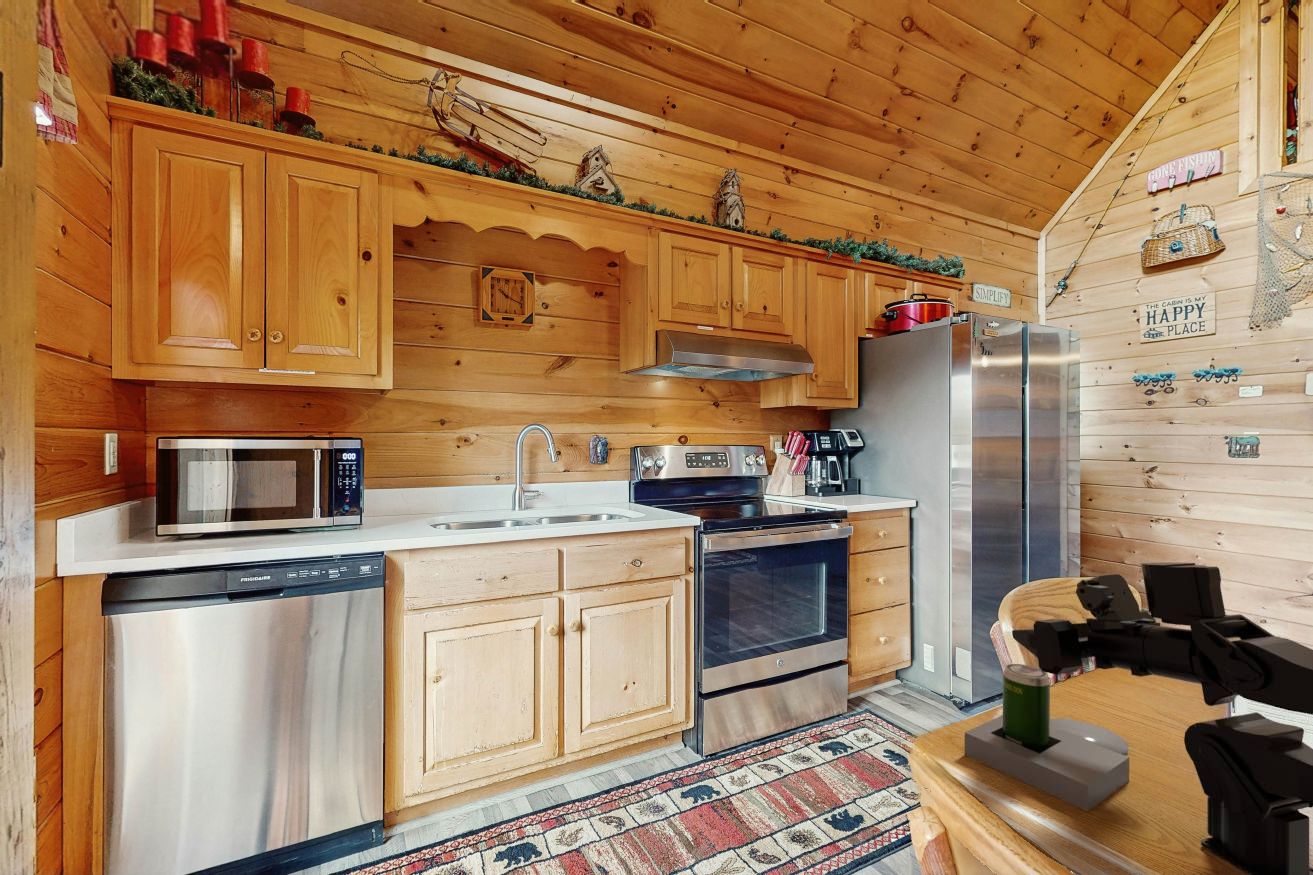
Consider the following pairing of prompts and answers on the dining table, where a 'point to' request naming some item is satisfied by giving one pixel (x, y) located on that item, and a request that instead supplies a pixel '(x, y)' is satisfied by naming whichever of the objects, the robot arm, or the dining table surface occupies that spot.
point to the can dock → (1052, 764)
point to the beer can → (1026, 707)
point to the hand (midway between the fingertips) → (1037, 631)
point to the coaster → (1091, 734)
